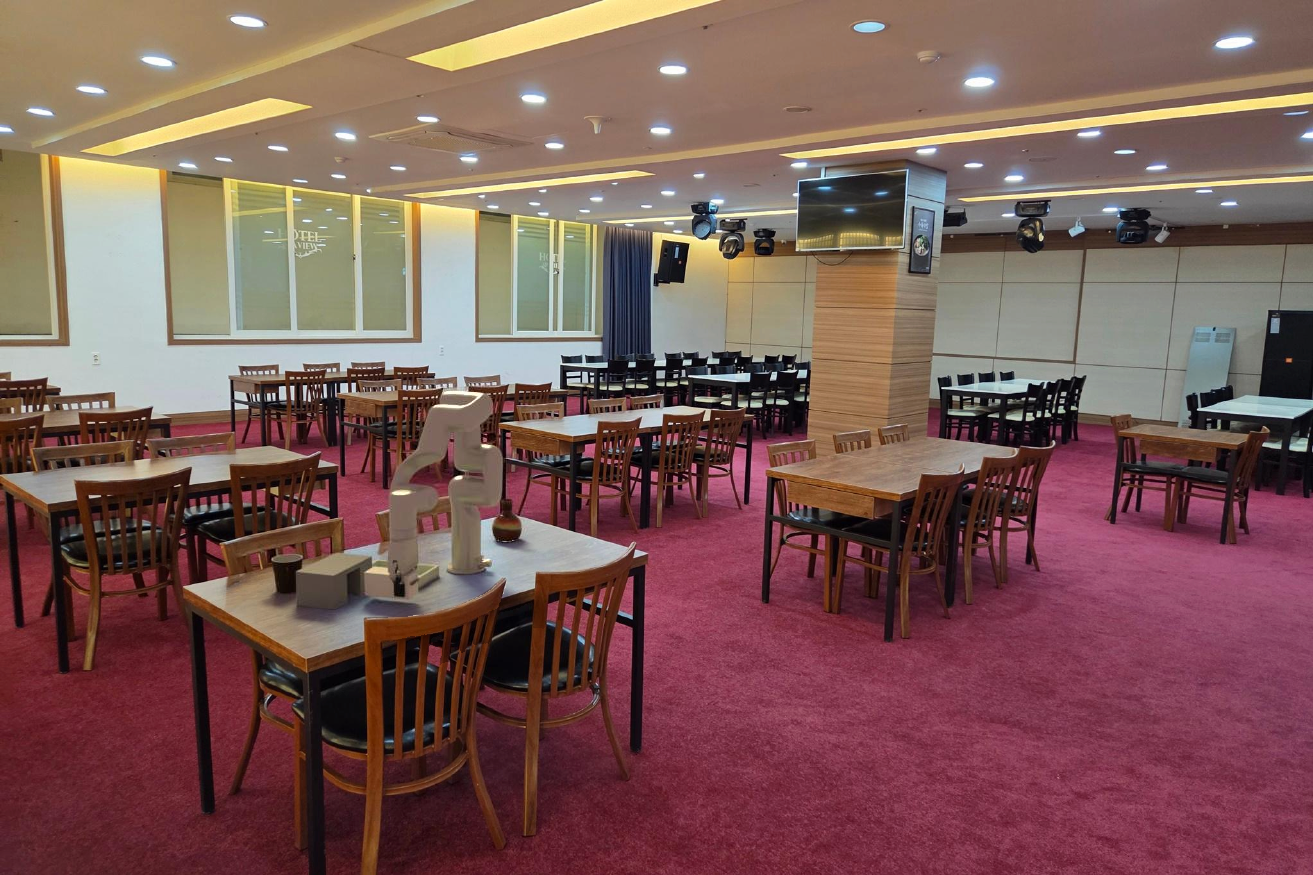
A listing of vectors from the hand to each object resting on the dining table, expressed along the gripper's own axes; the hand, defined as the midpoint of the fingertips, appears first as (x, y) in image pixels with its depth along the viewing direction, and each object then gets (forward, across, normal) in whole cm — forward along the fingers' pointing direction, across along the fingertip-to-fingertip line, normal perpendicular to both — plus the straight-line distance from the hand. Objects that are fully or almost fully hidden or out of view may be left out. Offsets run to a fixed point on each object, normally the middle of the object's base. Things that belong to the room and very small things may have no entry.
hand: (405, 592), depth 242 cm
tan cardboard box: (+1, 0, -4) cm, 4 cm away
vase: (+6, -73, +2) cm, 73 cm away
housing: (+3, +1, -22) cm, 22 cm away
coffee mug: (+3, +2, -38) cm, 38 cm away
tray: (+4, -19, -13) cm, 24 cm away
